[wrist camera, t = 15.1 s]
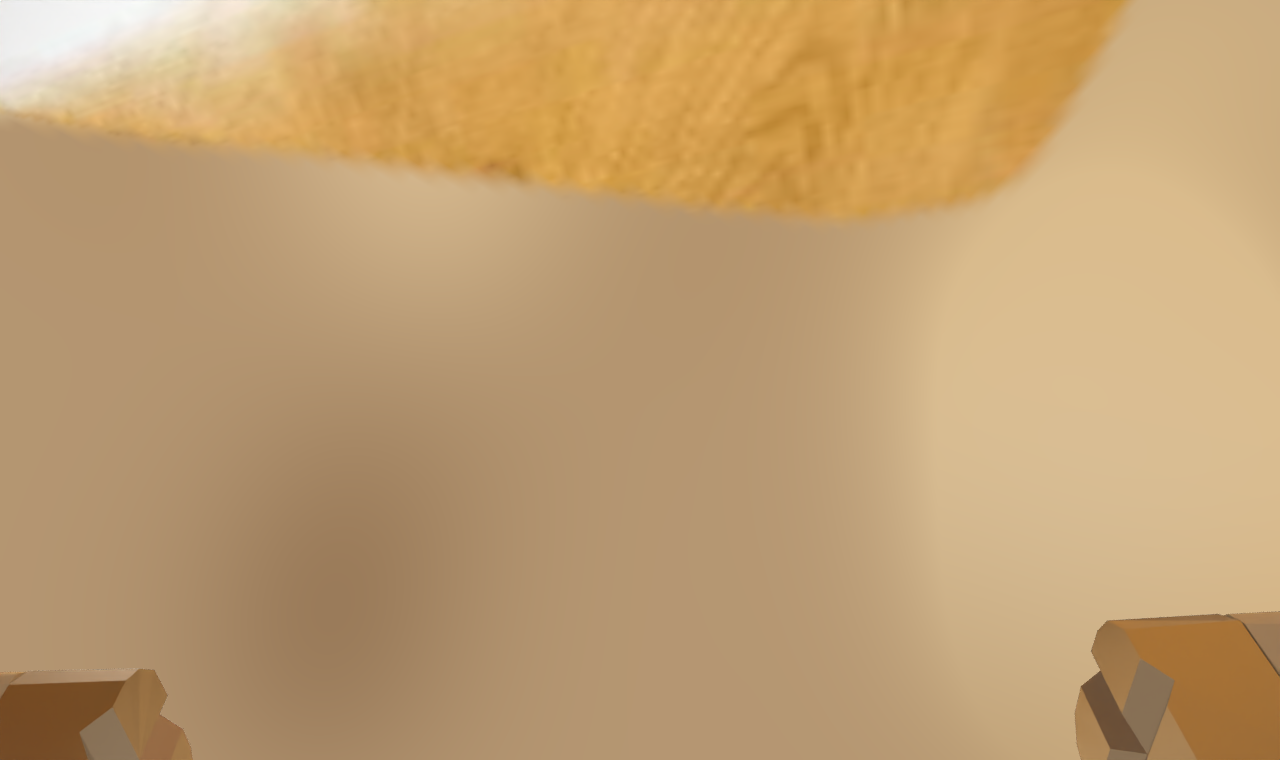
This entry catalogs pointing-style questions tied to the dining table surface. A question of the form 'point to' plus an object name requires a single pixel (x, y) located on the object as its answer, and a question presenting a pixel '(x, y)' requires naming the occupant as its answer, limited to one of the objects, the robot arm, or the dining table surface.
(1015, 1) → the dining table surface
